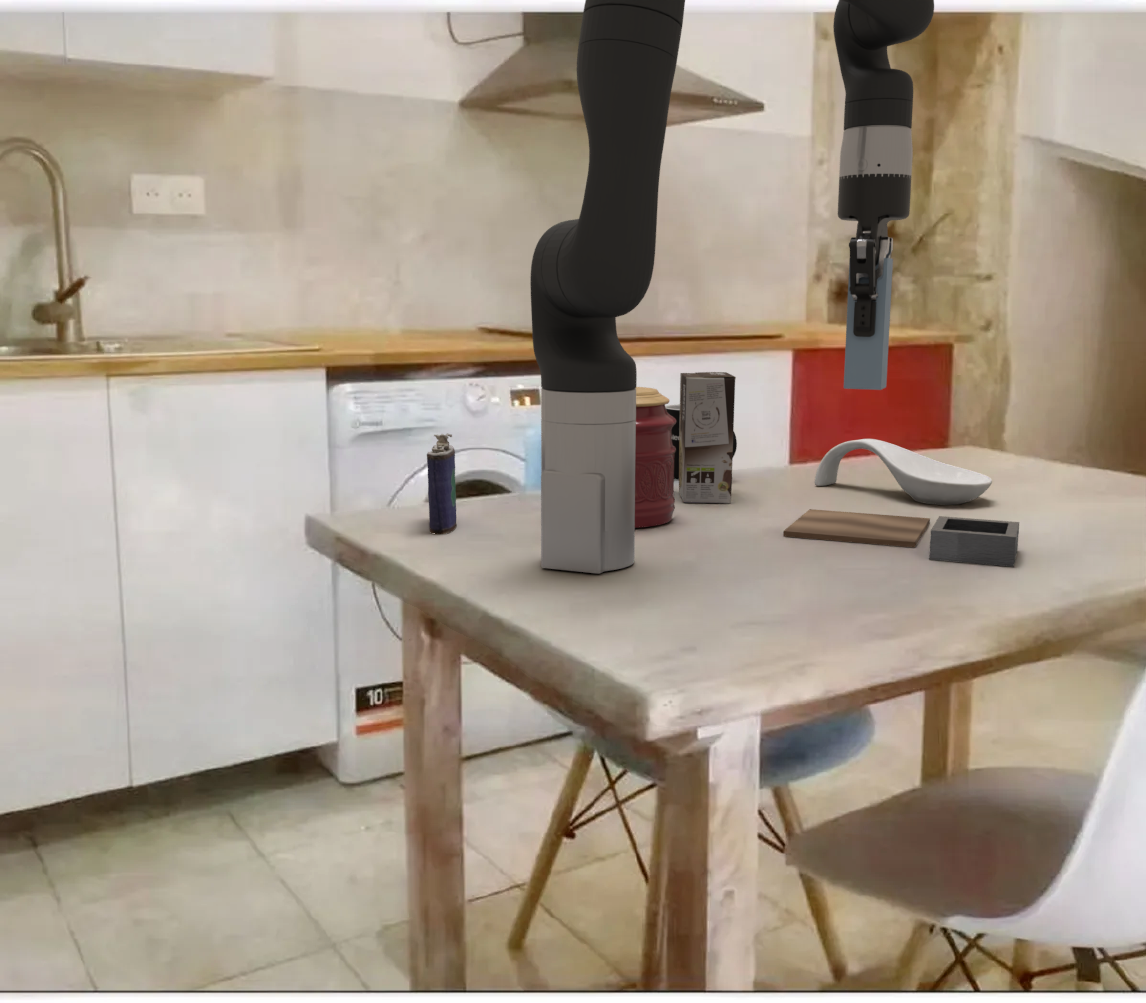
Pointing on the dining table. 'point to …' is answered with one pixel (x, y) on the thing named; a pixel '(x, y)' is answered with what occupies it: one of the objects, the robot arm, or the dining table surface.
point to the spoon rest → (911, 473)
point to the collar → (974, 541)
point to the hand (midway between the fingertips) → (867, 335)
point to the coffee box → (706, 436)
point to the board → (859, 528)
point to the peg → (869, 340)
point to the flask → (442, 486)
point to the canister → (653, 459)
